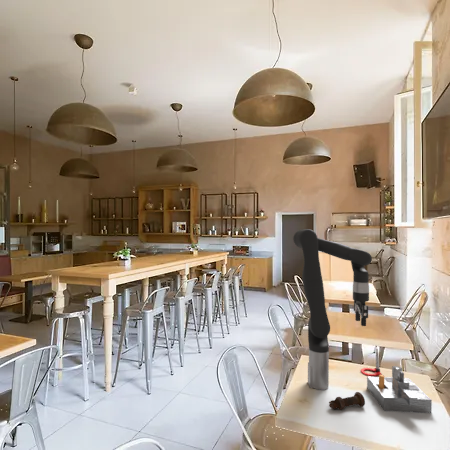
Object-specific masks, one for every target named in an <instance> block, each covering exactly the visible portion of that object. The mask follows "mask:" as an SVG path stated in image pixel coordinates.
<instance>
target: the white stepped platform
mask: <svg viewBox="0 0 450 450" xmlns="http://www.w3.org/2000/svg"><path fill="white" fill-rule="evenodd" d="M404 376H405V372H403V367H401V366H398V365H393V366H392V367H391V376H387V377H385V376H384V389H379V376H366V388H367V390H368V391H369V392H370V395H372V397H373V398H374V400H376V402H377V404H378V405H379V406H380V408H381V409H382V411H384V412H401V413H403V412H404V413H418V414H419V413H421V414H423V413H424V414H432V405H433V404H432V403H433V402H432V398H430V397H429V396H428V395H427V394H426V393H425V392H424V391H423V390H422V389H421V388H420V387H419V386H418V385H417V384H416V383H414V381H412V379H410V378H409V377H404Z"/></svg>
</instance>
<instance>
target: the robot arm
mask: <svg viewBox="0 0 450 450" xmlns="http://www.w3.org/2000/svg"><path fill="white" fill-rule="evenodd" d="M292 240H293V243H294V245H295V246H296V247H298V248H299V249H302V255H303V268H302V274H301V275H302V276H301V280H302V286H303V291H304V294H305V298H306V301H307V304H308V308H309V316H310V317H309V318H308V319H309V320H308V323H307V340H308V362H307V383H308V386H309V388H310V389H311V388H312V389H316V390H318V391H320V390H328V388H329V383H330V381H329V379H330V378H329V377H330V376H329V369H330V368H329V367H330V365H329V362H330V345H329V340H328V335H329V334H330V331H331V325H330V321H329V317H328V313H327V308H326V301H325V300H326V297H325V288H324V287H325V286H324V283H323V281H324V280H323V275H322V269H321V263H320V256H319V252H322V253H323V254H327V255H329V256H333V257H335V258H337V259H341V260H345V261H348V262H349V261H350V264H351V268H352V273H353V277H352V278H353V281H352V282H353V283H352V300H353V311H354V313H355V318H354V319H355V321H356V322H360V325H361V327H366V326H367V319H368V318H369V306H368V305H367V304H366V302H369V301H370V285H369V276H370V275H369V271H368V270H366V268H365V266H369V265H370V264H371V263H372V261H373V256H372V255H371V253H370V252H368V251H367V250H366V251H365V250H363V249H362V250H361V249H359V248H354V247H351V246H348V245H347V244H346V245H345V244H343V243H340V242H336V241H332V240H327V239H324V238H320V237H318V235H317V233H316V232H315V230H312V229H308V228H307V229H299V230H298V231H296V232H295V233H294V235H293V237H292Z"/></svg>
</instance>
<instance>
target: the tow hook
mask: <svg viewBox="0 0 450 450" xmlns="http://www.w3.org/2000/svg"><path fill="white" fill-rule="evenodd" d="M366 371H370V372H373V373H368V372H366ZM360 373H361V374H362V375H364V376H366V377H367V376H371V377H378V376H379V375H383V374H382V372H381V369H380V363H379V349H378V348H376V349H375V367H373V368H370V367H363V368H361V369H360Z"/></svg>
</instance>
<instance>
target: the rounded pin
mask: <svg viewBox="0 0 450 450" xmlns="http://www.w3.org/2000/svg"><path fill="white" fill-rule="evenodd" d="M378 377H379V389H384V377H385V376H384V375H383V374H382V375H378Z"/></svg>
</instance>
